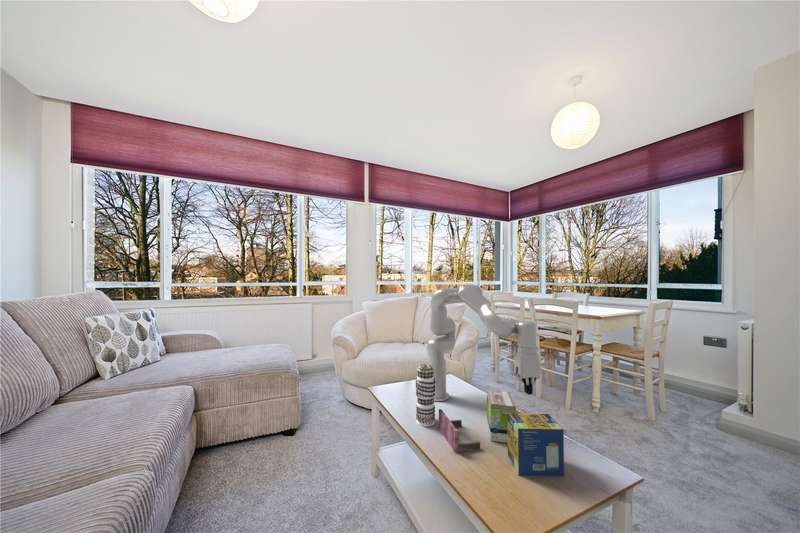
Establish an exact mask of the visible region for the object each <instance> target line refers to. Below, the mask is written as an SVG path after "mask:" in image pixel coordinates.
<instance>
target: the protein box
mask: <svg viewBox="0 0 800 533" xmlns="http://www.w3.org/2000/svg"><path fill="white" fill-rule="evenodd" d="M507 425H508V443H507V457H508V459H509V461H510V462H511V464H512V466H513V468H514V470H515V472H516V474H517V476H533V477H534V476H537V477H538V476H541V477H543V476H544V477H545V476H546V477H565V451H564V449H565V443H564V440H565V439H564V438H565V437H564V428H563V427H561V425H560V424H559V423H558V422H557V421H556V420H555V419H554V418H553V417H552V416H551V415H550V414H549V413H516V414H507Z"/></svg>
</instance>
